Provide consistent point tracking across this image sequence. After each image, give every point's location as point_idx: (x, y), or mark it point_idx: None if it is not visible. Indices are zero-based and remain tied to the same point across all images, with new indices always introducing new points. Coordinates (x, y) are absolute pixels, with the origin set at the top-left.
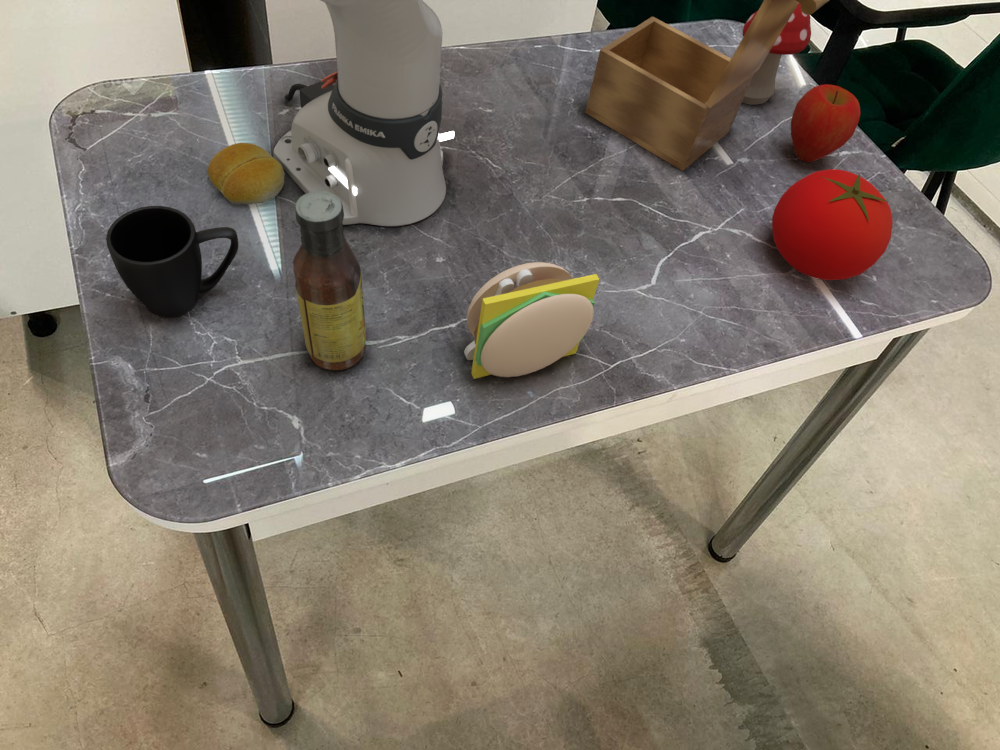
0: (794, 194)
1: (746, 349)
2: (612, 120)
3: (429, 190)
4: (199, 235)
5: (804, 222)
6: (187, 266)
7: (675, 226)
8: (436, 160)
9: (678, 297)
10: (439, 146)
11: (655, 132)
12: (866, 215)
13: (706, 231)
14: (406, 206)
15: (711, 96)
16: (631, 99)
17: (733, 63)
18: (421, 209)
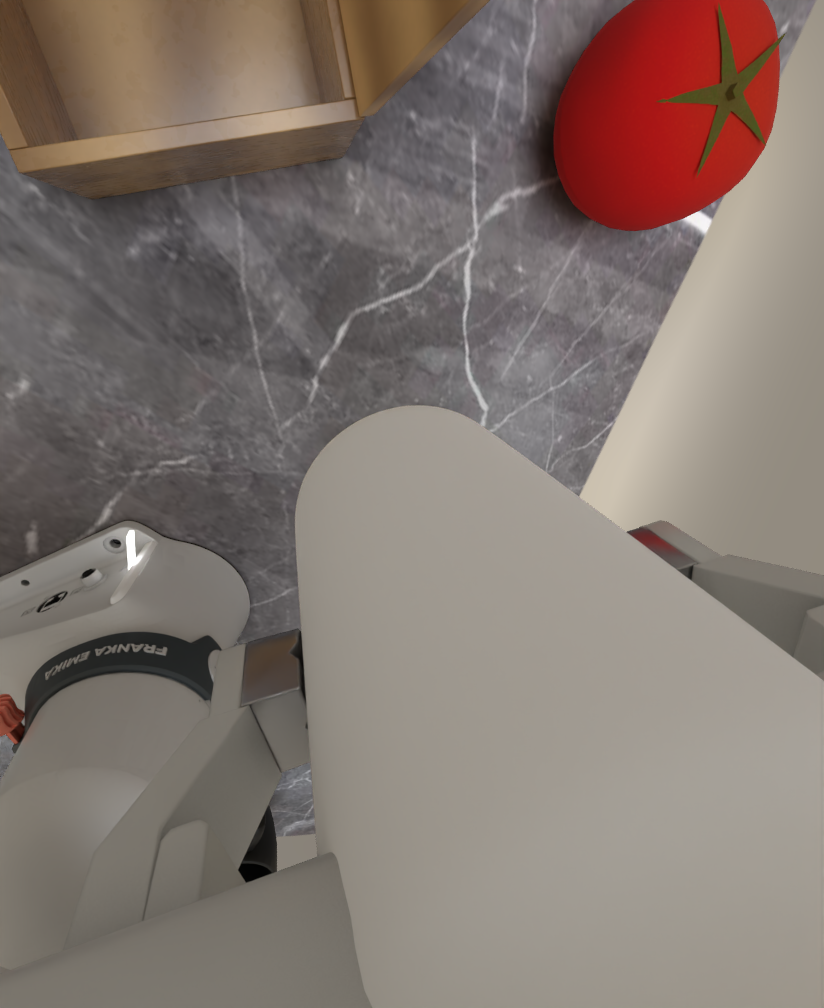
0: (616, 170)
1: (616, 381)
2: (157, 184)
3: (233, 604)
4: (248, 850)
5: (652, 218)
6: (272, 848)
7: (433, 294)
8: (208, 608)
9: (520, 396)
10: (177, 590)
11: (261, 162)
12: (759, 136)
13: (469, 255)
14: (240, 628)
15: (370, 107)
16: (175, 167)
17: (419, 66)
18: (244, 605)
